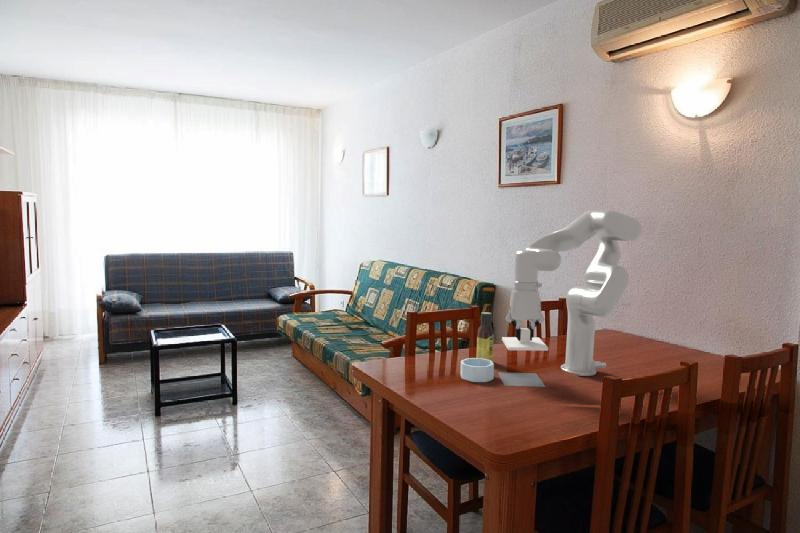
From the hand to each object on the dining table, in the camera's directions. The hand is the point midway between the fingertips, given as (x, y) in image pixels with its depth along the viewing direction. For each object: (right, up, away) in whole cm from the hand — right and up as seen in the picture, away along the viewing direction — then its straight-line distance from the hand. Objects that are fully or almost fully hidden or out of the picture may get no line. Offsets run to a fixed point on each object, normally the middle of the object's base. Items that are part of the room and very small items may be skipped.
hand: (524, 339), depth 181 cm
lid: (0, -2, 0) cm, 2 cm away
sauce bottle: (-10, -13, +21) cm, 26 cm away
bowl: (-16, -14, +3) cm, 22 cm away
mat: (-1, -15, +1) cm, 15 cm away
